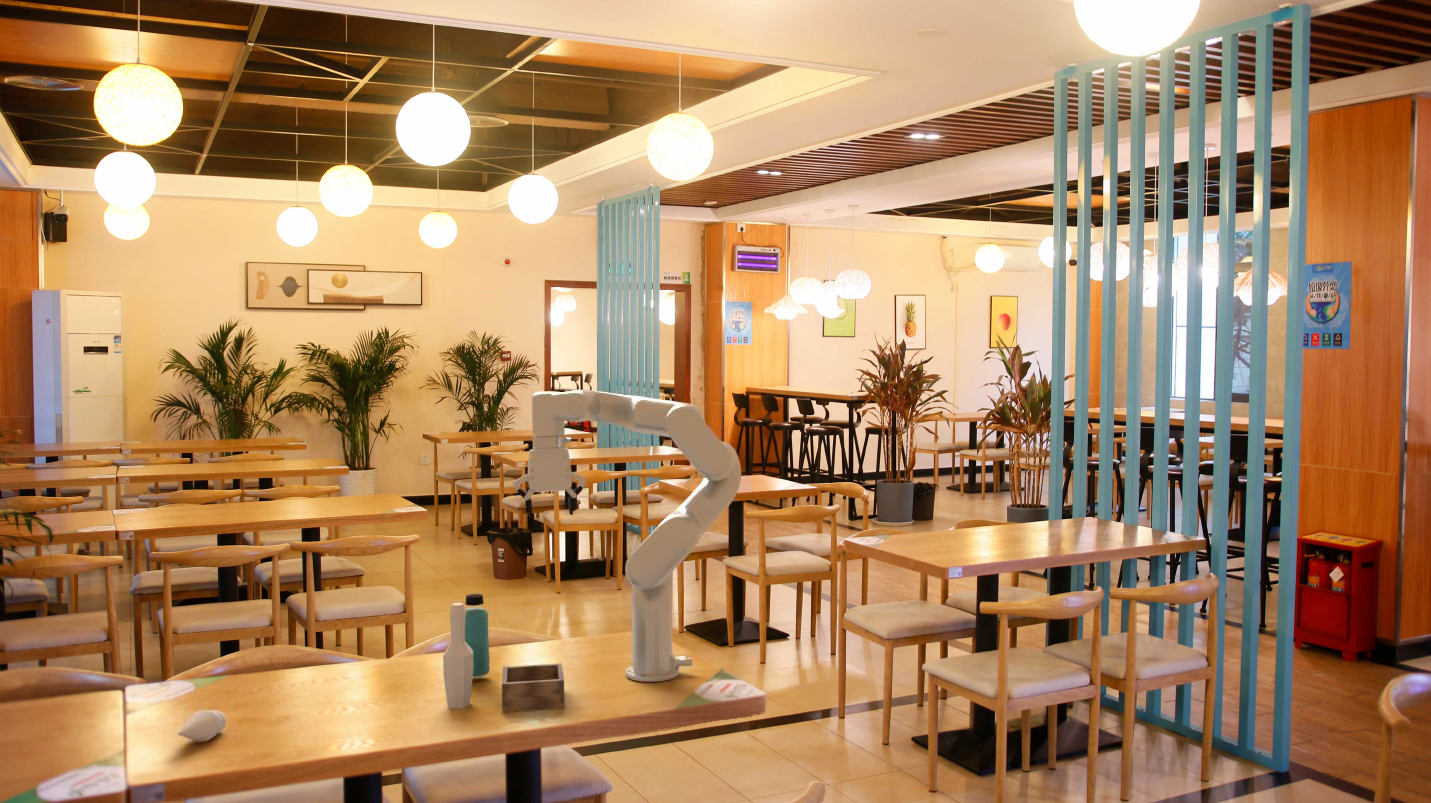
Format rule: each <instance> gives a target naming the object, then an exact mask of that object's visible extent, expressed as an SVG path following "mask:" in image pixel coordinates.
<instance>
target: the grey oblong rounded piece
mask: <svg viewBox="0 0 1431 803" xmlns="http://www.w3.org/2000/svg"><path fill="white" fill-rule="evenodd" d="M226 724H227V717H226V715H225V714H224V713H223V712H222V711H219V710H217V709H216V710H215V709H214V710H213V709H212V710H211V709H200V710H197V711H195V712H193V713H192V714H191V715H190V716H189V718H188V719H187V720H186V721H185V723H184V724H183V725H182V727H181V728H180V729H179V731H178V732H177V735H178V736H182V737H183V738H186V739H189V740H191V741H194V742H196V741H197V743H205V742H204V741H206V742H208V741H209V740H211V739H212V738H214V737H215V736H217V735H218V734H219V733H220V732H222V731H223V729H224V728H225V727H226Z"/></svg>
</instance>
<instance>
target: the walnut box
mask: <svg viewBox="0 0 1431 803" xmlns="http://www.w3.org/2000/svg"><path fill="white" fill-rule="evenodd" d="M501 703H502V704H501V710H502V712H501V713H513V712H526V711H527V712H529V711H541V710H555V709H556V710H557V709H559V710H560V709H565V676H564V670H563V663H562V662H561V663H547V664H546V663H545V664H527V665H512V666H502V676H501Z"/></svg>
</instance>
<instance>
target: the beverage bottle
mask: <svg viewBox="0 0 1431 803" xmlns="http://www.w3.org/2000/svg"><path fill="white" fill-rule="evenodd" d="M465 605H466V606H470V607H468V608H466V609H465V611H466V616H465V642H466V643H467V644H468V645H469V647H470V648H471V649H472V650H473V678H477V677H483V676H486V675H488V674H490V661H491V660H490V659H491V658H490V651H491V650H490V649H491V648H490V647H491V646H490V642H489V612H488V611H487V610H486V609H485V608H483V607H479V606H482V605H484V595H483V594H481V593H471V594H467V595H466V596H465ZM474 606H475V607H474ZM476 606H477V607H476Z"/></svg>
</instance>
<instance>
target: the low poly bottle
mask: <svg viewBox="0 0 1431 803" xmlns="http://www.w3.org/2000/svg"><path fill="white" fill-rule="evenodd" d="M465 608H466V607H465V605H464V603H463V602H454V603H452V605H451V607H450V612H449V622H450V631H451V632H450V634H451V635H450V637H451V638H450V640H451V642H450V643H449V646H447V648H446V650H445V652H444V653H443V656H442V662H443V664H442V665H443V666H442V667H443V668H442V669H443V672H442V673H443V681H444V688H445V695H446V703H447V708H448V709H452V710H458V709H459V710H460V709H462V710H463V709H466V708H468V707H470V704H471V697H472V687H473V686H472V685H473V678H474V677H473V650H472V649H471V648H470V647H469V645H468V644H467V643H466V642H465V616H466V611H465V610H466V609H465Z"/></svg>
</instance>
